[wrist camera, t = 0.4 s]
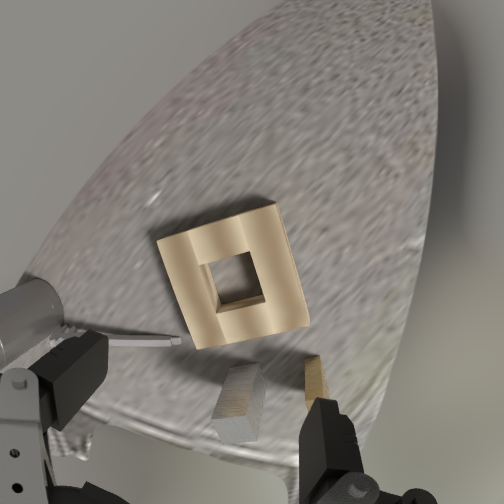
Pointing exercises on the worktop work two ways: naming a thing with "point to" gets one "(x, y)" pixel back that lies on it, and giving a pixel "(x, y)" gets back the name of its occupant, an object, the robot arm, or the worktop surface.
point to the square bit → (240, 404)
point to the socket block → (267, 267)
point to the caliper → (117, 338)
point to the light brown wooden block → (314, 381)
